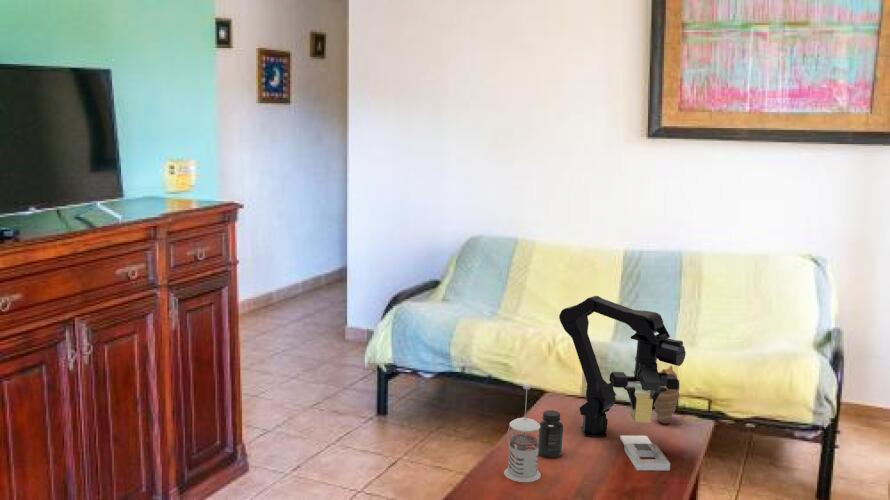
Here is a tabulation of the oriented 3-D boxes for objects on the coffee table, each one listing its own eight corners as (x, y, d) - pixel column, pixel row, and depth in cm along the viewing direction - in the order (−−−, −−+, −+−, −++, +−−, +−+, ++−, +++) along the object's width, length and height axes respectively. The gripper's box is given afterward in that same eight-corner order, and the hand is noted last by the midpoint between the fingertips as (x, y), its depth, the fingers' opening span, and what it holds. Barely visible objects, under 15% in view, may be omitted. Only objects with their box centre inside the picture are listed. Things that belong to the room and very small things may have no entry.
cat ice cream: (659, 415, 264) (664, 361, 261) (682, 422, 259) (686, 367, 255) (645, 422, 258) (649, 367, 254) (667, 430, 252) (672, 373, 249)
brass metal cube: (634, 421, 235) (636, 398, 234) (630, 415, 240) (632, 392, 238) (650, 422, 235) (652, 399, 234) (646, 416, 240) (648, 393, 238)
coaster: (627, 449, 237) (627, 446, 237) (619, 438, 245) (620, 435, 245) (654, 449, 238) (654, 447, 238) (646, 438, 246) (646, 435, 246)
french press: (516, 485, 214) (521, 392, 209) (493, 466, 224) (497, 378, 219) (548, 478, 218) (553, 387, 213) (524, 460, 228) (528, 373, 224)
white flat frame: (637, 470, 224) (637, 463, 224) (624, 450, 237) (624, 443, 237) (669, 470, 225) (670, 463, 224) (655, 450, 237) (655, 443, 237)
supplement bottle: (564, 451, 235) (567, 411, 233) (557, 460, 229) (560, 419, 227) (541, 446, 238) (544, 406, 235) (534, 455, 232) (536, 414, 229)
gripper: (620, 365, 226) (615, 419, 229) (688, 367, 226) (682, 421, 229) (611, 352, 237) (606, 403, 240) (675, 354, 237) (670, 406, 240)
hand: (641, 408), depth 237 cm, fingers closed on brass metal cube, 5 cm apart
